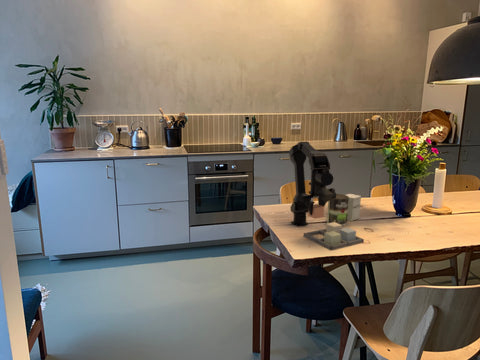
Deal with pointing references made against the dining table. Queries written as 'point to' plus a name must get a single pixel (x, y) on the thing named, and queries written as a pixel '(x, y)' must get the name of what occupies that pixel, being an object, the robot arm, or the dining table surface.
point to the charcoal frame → (335, 236)
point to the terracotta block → (317, 211)
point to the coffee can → (338, 209)
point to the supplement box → (353, 207)
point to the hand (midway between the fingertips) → (315, 214)
